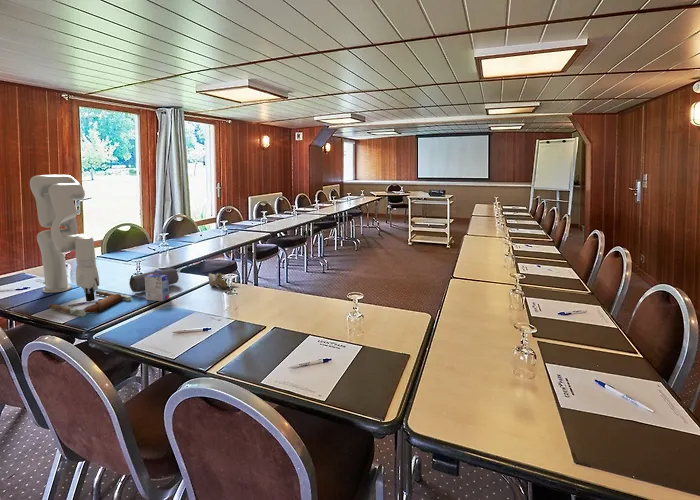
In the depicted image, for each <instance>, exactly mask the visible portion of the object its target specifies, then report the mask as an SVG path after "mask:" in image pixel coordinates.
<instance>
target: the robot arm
mask: <svg viewBox="0 0 700 500" xmlns="http://www.w3.org/2000/svg"><path fill="white" fill-rule="evenodd" d="M29 187H30V191H31V193H32V195H33V197H34V199H35V203H36V205H35V206H36V211H37V219H38V224H39V225H40V227H43V228H50V229H46V230H42V231H40V232H38V233H37V235H36V240H37V241H36V242H37V244H38V247H39V251H40V254H41V261H42V268H43V275H44V276H43V277H44V281H43V282H42V283H43V285H44V287H42V293H47V294H54V293H61V292H62V293H63V292H66V291H69V290H71V289H72V288H73V285H72V284H69V281H68V275H67V267H66V259H65V254H64V253H68V252H70V253H71V252H75V258H76V259H75V260H76V268H75V281H76V286H78V287H80V288H81V289H82V290H83V293H84V295H85V302H88V303H90V302H93V301H95V300H96V296H95V293H96V291H97V290H99V288H98V287H99V286H100V277H99V271H98V268H97V260H96V259H97V258H96V252H95V250H96V249H95V242H94V241H95V240H94V238H93V237H92V236H89V235H88V234H86V233H80V234H79V232H78V231H79V230H78V221H77V215H78V210H77V207H76V204H75V202H74V201H83V200H84V199H85V195H86V194H85V193H86V192H85V189H84V187H83V186H82V185H81V183H80V182H79V181H78V180H77V179H75V178H74V177H73V176H71V175H69V174H41V175H39V174H37V175H33V176H32V177H31V178H30V180H29ZM60 227H64V228H60Z"/></svg>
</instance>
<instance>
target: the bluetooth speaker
mask: <svg viewBox="0 0 700 500" xmlns="http://www.w3.org/2000/svg"><path fill="white" fill-rule="evenodd" d="M154 271H155V270H153V271H150V272H146V273H145V272H144V273H141V274H137V275H133V276H130V278H129V288H130V290H131V292H134V293H140V292H146V290H145V276H147V275H150V274H154ZM159 271H161V274H160V275H168V282H169V286H171V285H174V284H176V283H179V282H178V281H179V278H180V277H179V274H178V271H177V270H176V269H175V268H165V269H160V270H159ZM155 273H159V272H155Z"/></svg>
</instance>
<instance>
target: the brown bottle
mask: <svg viewBox="0 0 700 500" xmlns="http://www.w3.org/2000/svg"><path fill="white" fill-rule="evenodd" d="M121 295H122V294H120V293H115V295H111V296H108V297H104V298H102V299H100V300H98V301H96V302H95V303H94V304H92V305H90V306H88V307H87V308H85V309H84V310H83V311H85V313H87V312H94V313H93V314H99V313H101V312H103V311H104V310H106V309H108V308H110V307H111V306H113V305H114V304H116V303H118V302H121V300H122V301H124V300H123V297H122V296H121Z"/></svg>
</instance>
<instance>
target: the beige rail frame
mask: <svg viewBox="0 0 700 500" xmlns="http://www.w3.org/2000/svg"><path fill="white" fill-rule="evenodd" d="M96 294H99V295H98V296H100V295H104V296H103V297H105V296H111V295H115V294H116V293H115V292H111V291H110V292H109V291H104V290H99V289H98V290H95V295H96ZM120 295H121V296H122V297H123V300H122V301H124V300H126V301H125V302H130V301H129V300H131V301H132V296H130V295H124V294H120ZM47 306H48V309H49V310H54V311H57V312H60V313H61V312H62V313H65V314H70V315H74V316H78V317H81V318H83V317H86V316H87V314H86V313H87V312H85V311H84V310H81V309H76V308H73V307H69V306H64V305H60V304H56V303H48V305H47Z"/></svg>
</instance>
